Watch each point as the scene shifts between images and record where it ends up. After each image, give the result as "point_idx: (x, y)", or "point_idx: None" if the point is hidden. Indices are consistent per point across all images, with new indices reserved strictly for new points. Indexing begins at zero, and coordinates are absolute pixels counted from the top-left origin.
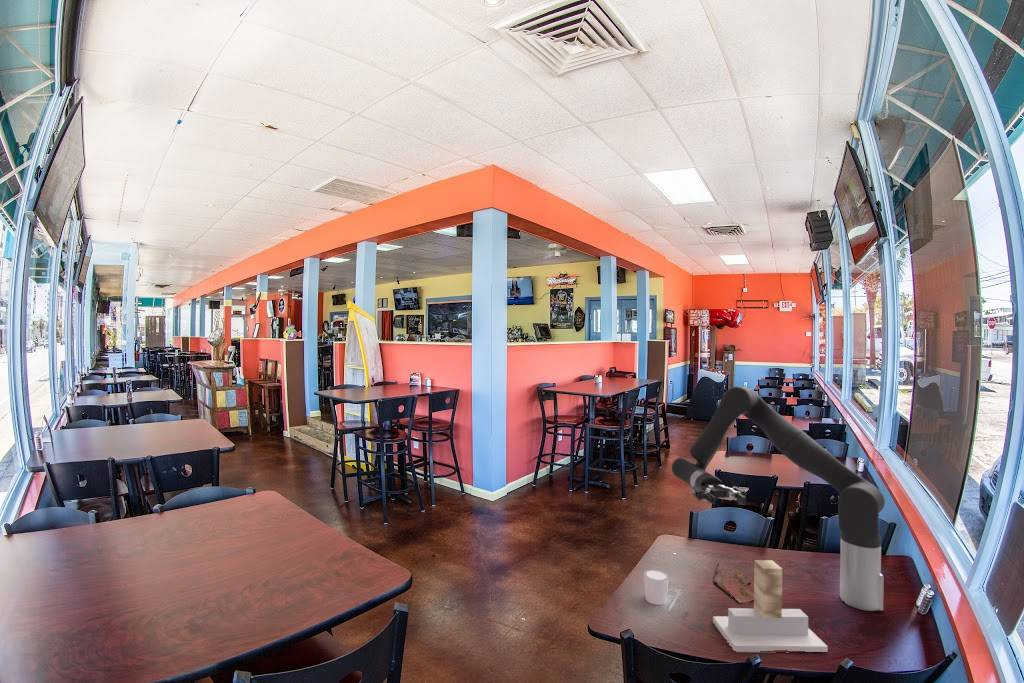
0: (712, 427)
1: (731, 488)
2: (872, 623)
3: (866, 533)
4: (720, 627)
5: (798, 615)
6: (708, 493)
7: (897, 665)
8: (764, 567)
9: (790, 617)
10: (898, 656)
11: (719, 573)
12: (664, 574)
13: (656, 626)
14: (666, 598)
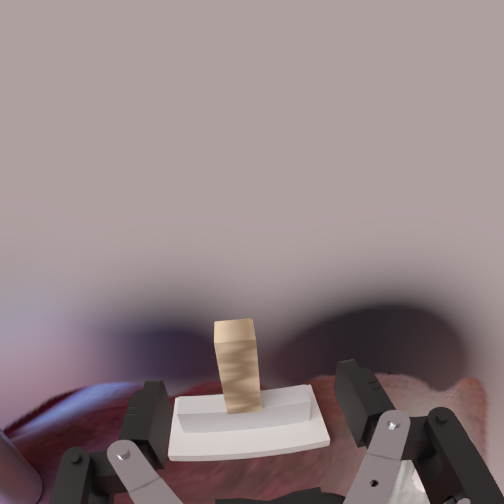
0: None
1: (142, 494)
2: (56, 447)
3: None
4: (322, 418)
5: (192, 399)
6: (380, 405)
7: (113, 387)
8: (248, 320)
9: (209, 396)
10: (95, 398)
11: None
12: None
13: (416, 408)
14: (414, 472)
